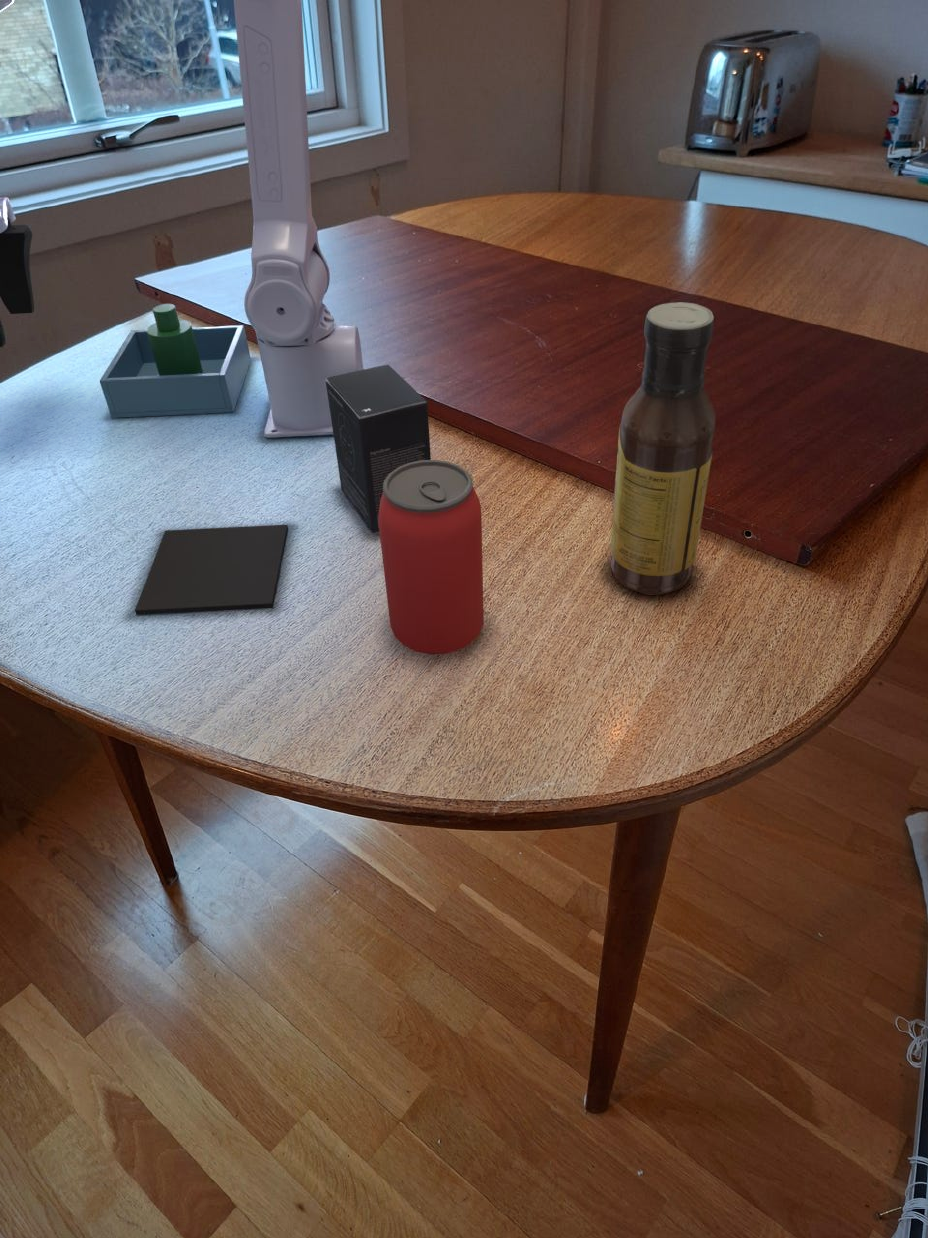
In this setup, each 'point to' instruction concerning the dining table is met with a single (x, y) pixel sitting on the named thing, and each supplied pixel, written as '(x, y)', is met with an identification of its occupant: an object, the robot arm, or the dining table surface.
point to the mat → (214, 570)
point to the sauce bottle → (664, 454)
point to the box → (375, 433)
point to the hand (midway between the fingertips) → (8, 328)
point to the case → (177, 376)
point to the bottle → (173, 343)
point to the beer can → (432, 556)
